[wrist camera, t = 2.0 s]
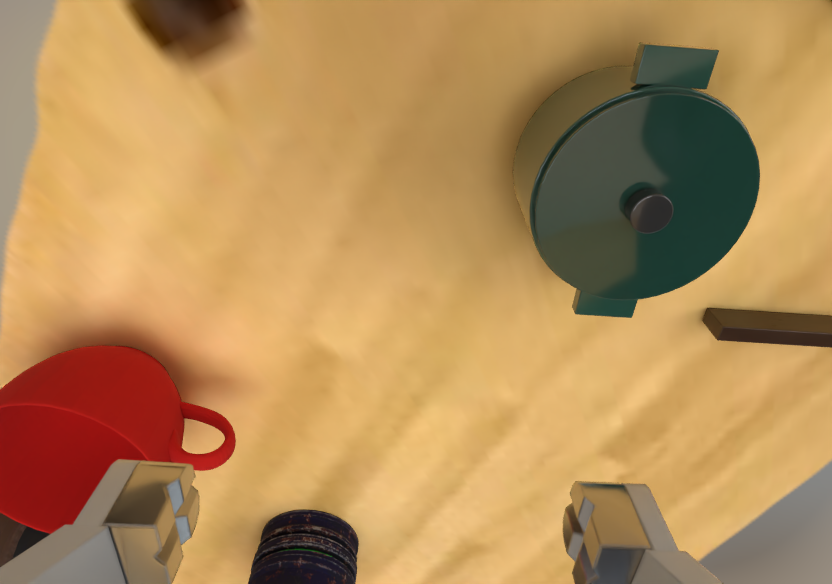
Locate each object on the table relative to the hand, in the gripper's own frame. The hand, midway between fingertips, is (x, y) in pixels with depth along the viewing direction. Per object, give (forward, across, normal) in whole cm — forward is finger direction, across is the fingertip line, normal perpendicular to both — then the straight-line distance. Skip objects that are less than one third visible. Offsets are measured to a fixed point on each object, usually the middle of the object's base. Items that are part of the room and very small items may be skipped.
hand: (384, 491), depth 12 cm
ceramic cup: (+27, +19, +20) cm, 39 cm away
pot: (+26, -13, 0) cm, 29 cm away
